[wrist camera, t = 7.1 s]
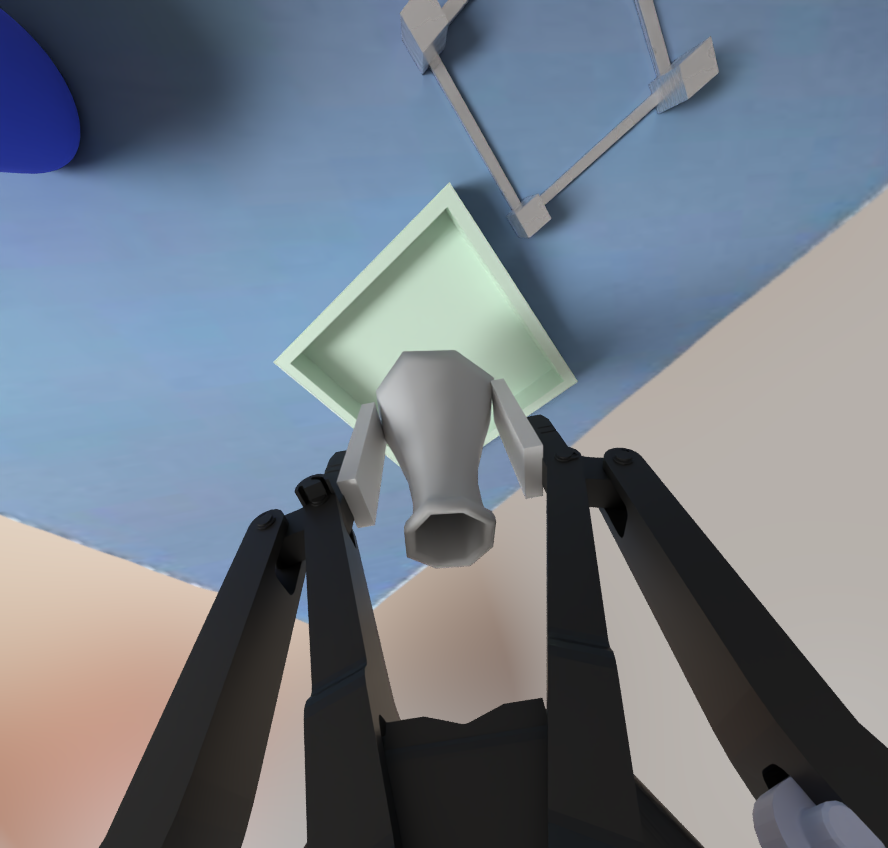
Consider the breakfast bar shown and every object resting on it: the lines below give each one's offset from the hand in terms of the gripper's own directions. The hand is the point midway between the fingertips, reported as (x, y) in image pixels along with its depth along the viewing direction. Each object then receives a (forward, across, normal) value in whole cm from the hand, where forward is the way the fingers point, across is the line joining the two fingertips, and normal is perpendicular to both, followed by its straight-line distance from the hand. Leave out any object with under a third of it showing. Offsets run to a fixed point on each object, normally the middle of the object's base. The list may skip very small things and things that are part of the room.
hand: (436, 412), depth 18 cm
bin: (+9, 0, 0) cm, 9 cm away
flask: (+1, 0, 0) cm, 1 cm away
